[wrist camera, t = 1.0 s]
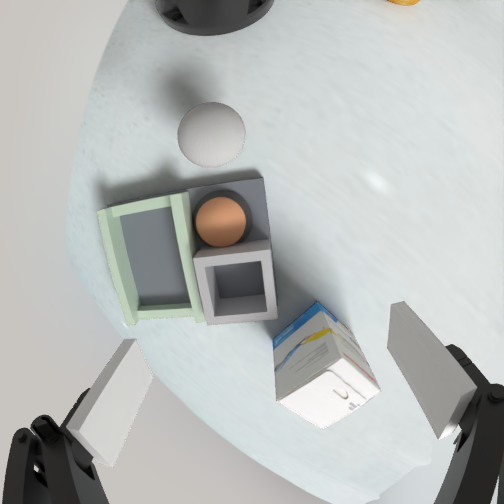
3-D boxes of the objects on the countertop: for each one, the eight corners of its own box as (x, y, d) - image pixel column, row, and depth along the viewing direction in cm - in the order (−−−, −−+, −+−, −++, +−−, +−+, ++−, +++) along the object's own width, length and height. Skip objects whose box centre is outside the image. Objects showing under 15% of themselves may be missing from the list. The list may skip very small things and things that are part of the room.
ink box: (270, 339, 35) (272, 402, 24) (318, 299, 34) (341, 354, 22) (310, 371, 37) (323, 431, 26) (355, 336, 35) (384, 392, 24)
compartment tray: (112, 204, 31) (87, 210, 25) (263, 177, 30) (264, 178, 24) (138, 312, 35) (121, 332, 29) (277, 301, 34) (280, 324, 28)
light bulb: (188, 158, 29) (157, 151, 20) (209, 111, 28) (187, 85, 18) (235, 177, 30) (224, 178, 20) (257, 130, 28) (256, 109, 19)
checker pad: (194, 200, 29) (192, 201, 28) (242, 193, 29) (241, 194, 27) (202, 246, 30) (200, 249, 29) (248, 241, 30) (248, 243, 29)
